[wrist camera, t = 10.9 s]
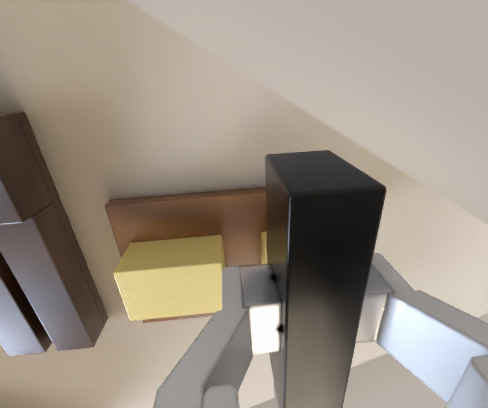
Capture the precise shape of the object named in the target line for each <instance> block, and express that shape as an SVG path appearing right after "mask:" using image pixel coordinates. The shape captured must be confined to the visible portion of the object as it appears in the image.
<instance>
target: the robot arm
mask: <svg viewBox="0 0 488 408" xmlns="http://www.w3.org/2000/svg"><path fill="white" fill-rule="evenodd" d="M240 277H241V278H240ZM281 324H282V301H281V297H280V293H279V290H278V286H277V283H276V282H275V281H274V271H273V267H272V265H271V264H258V265H244V266H240V268H239V266H234V267H223V269H222V310H221V311H216V312H215V314H214V315H213V316H212V318H211V319H210V320H209V322H208V323H207V324H206V326H205V327H204V328H203V330H202V331H201V332H200V334H199V335H198V336H197V338H196V339H195V340H194V342H193V343H192V344H191V346H190V347H189V348H188V350H187V351H186V352H185V354H184V355H183V356H182V358H181V359H180V360H179V362H178V363H177V364H176V366H175V367H174V368H173V370H172V371H171V372H170V374H169V375H168V376H167V378H166V379H165V380H164V382H163V383H162V384H161V386H160V387H159V388H158V390H157V393H156V398H155V402H154V407H153V408H240V407H239V398H238V390H239V388H240V385H241V383H242V381H243V378H244V376H245V374H246V371H247V369H248V367H249V364H250V362H251V360H252V357H253V355H255V354H263V353H270V352H277V351H281V336H282V333H281V329H280V325H281ZM375 341H377V344H378V345H380V346H381V347H382V348H383V349H384V350H385V351H387V352H388V353H389V354H390V355H391V356H393V357H394V358H395V359H396V360H397V361H398V362H400V363H401V364H402V365H403V366H404V367H406V368H407V369H408V370H409V371H410V372H411V373H413V374H414V375H415V376H416V377H417V378H419V379H420V380H421V381H422V382H423V383H425V384H426V385H427V386H428V387H429V388H430V389H432V390H433V391H434V392H435V393H436V394H438V395H439V396H440V397H441V398H442V399H443V400H445V401H446V402H447V405H446V407H445V408H488V323H486V322H484V321H482V320H480V319H477V318H475V317H473V316H471V315H469V314H467V313H465V312H463V311H461V310H459V309H457V308H455V307H453V306H451V305H449V304H447V303H445V302H443V301H441V300H439V299H437V298H435V297H432V296H430V295H428V294H426V293H424V292H422V291H420V290H418V291H414V290H413V289H412V288H411V286H410V285H409V284H408V283H407V282H406V281H405V280H404V279H403V278H402V277H401V275H400V274H399V273H398V272H397V271H396V270H395V269H394V268H393V267H392V266H391V265H390V263H389V262H388V261H387V260H386V259H385V258H384V257H383V256H382V255H381V254H379V253H374V254H373V259H372V264H371V269H370V274H369V279H368V283H367V288H366V293H365V298H364V303H363V308H362V313H361V318H360V323H359V328H358V333H357V338H356V343H362V342H375Z"/></svg>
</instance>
